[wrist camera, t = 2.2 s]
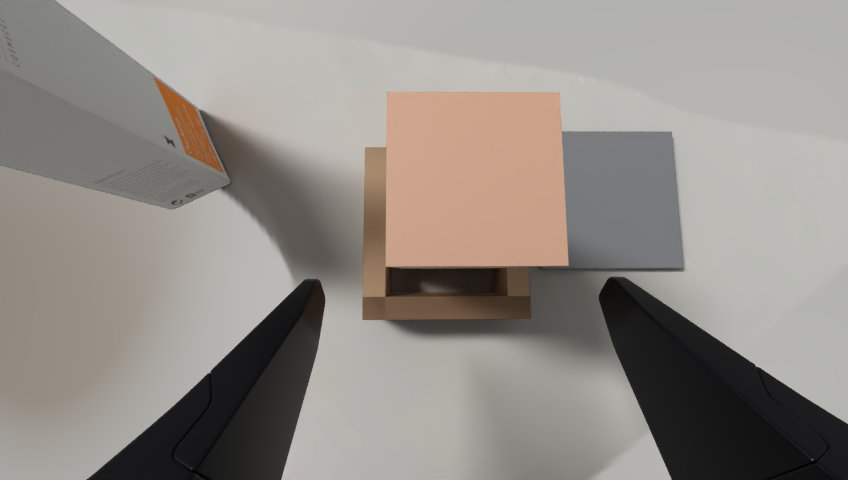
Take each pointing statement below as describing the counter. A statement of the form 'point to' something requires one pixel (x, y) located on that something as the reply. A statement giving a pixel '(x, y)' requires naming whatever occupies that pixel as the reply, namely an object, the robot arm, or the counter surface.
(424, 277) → the counter surface
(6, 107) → the skincare box
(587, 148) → the mat
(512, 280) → the u-shaped frame
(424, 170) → the block
